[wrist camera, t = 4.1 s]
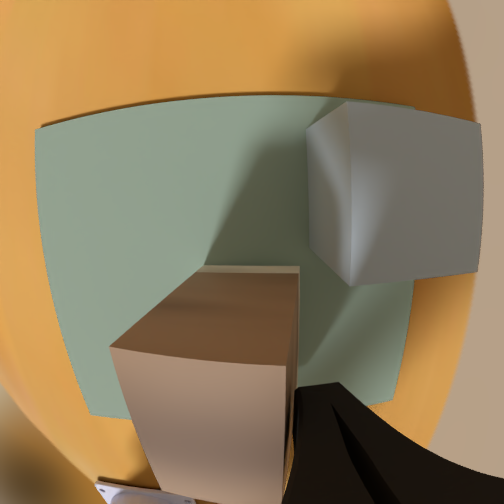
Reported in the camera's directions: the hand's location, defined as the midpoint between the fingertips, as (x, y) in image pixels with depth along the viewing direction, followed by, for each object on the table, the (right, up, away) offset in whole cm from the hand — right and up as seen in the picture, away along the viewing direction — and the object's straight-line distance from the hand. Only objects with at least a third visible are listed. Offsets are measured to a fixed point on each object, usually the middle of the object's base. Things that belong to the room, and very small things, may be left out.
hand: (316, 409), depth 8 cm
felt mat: (-3, +3, +5) cm, 7 cm away
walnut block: (-2, +1, +5) cm, 6 cm away
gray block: (+3, +7, +5) cm, 9 cm away
